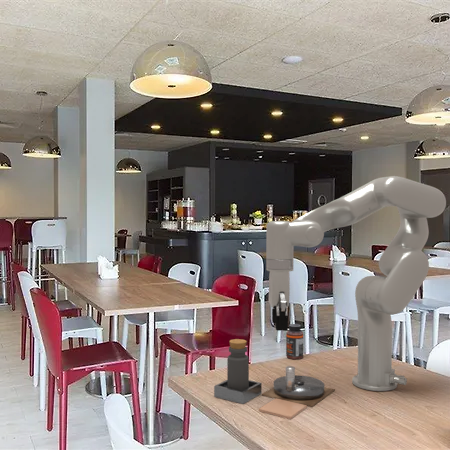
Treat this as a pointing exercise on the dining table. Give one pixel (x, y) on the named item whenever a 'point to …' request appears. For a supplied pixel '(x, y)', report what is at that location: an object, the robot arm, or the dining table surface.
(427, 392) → the dining table surface
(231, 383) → the bottle
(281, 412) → the pad
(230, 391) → the collar
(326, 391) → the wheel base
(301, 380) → the handwheel
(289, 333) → the supplement bottle
